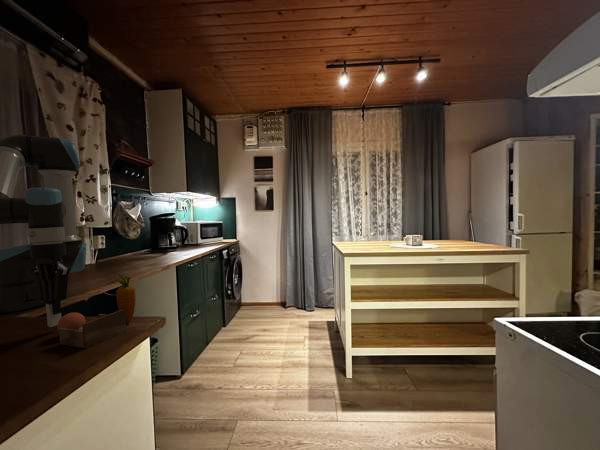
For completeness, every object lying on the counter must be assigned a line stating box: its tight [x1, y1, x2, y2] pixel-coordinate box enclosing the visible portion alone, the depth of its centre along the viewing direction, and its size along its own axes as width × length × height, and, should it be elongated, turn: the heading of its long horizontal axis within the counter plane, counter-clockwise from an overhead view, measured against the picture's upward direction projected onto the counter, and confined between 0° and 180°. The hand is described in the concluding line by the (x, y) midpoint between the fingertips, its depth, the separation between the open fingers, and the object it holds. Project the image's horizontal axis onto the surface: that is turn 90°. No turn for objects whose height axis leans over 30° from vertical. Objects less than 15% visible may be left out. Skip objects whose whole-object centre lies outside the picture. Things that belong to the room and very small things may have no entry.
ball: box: [56, 312, 87, 332], centre depth 77 cm, size 6×6×6 cm
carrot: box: [115, 274, 137, 325], centre depth 82 cm, size 5×5×15 cm
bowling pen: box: [58, 309, 127, 349], centre depth 74 cm, size 10×11×6 cm
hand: (55, 324), depth 79 cm, fingers closed
